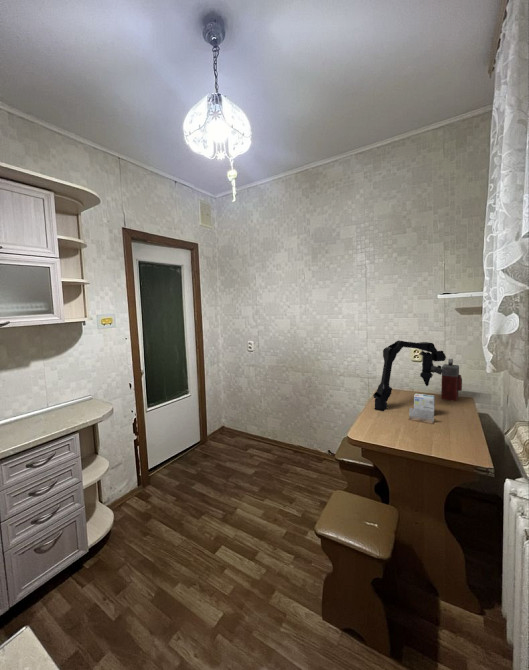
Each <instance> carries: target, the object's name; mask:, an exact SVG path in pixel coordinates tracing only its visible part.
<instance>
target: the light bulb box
mask: <svg viewBox="0 0 529 670" xmlns="http://www.w3.org/2000/svg"><path fill="white" fill-rule="evenodd" d="M435 407H436V404H435V395H432V394H423V393H421V394H420V393H414V395H413V408H415V409H421V410H428V411H434V412H435V409H436V408H435Z"/></svg>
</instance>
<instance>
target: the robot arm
mask: <svg viewBox="0 0 529 670" xmlns="http://www.w3.org/2000/svg"><path fill="white" fill-rule="evenodd" d="M403 348H408V349H409V348H410V349H417V350H421V352H420V353H418V355H419V356H422V363H421V365H422V366H421V367H422V369H421V372H420V374H419V377H420V378H421V379H422V380H423V383H424V384H425V387H429V385H430V381H431V379H432V378H433V376H434V374H438V375H441V376H442V371H443V369H442V365H437V366H436V365H434V363H433V362H445V361H446V359H447V357H446V354H445V352H444V350H438V349H437V348H436V347H435V344H434V343H433V342H429V341H427V342H426V341H420V342H412V341H405V340H400V339H399V340H397V341H395V342H394V343H391V344H390V345H389V346H386V347H384V348H383V349H382V358H383V360H384V361H383V367H382V375H381V381H380V384H379V385H378V387H377V389H376V391H375V392H374V393H373V395H372V396H373V398H374V407H373V410H374V409H375V411H380V412H385V410H387V409H388V400H389V398H390V397H391V395H392V391H393V387H391V386H390V382H391V381H390V379H391V375H392V374H391V373H392V367H393V362H394V361H395V360H396V357H397V354H398V353H401V350H402V349H403Z"/></svg>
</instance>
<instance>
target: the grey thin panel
mask: <svg viewBox="0 0 529 670" xmlns="http://www.w3.org/2000/svg"><path fill="white" fill-rule="evenodd" d="M408 409H409V411H408V413H409V418H415V419H421V420H427V421H433V422H434V423H435V410H434V411H428V410H421V409H415V408H414V407H409V408H408ZM409 418H408V419H409Z"/></svg>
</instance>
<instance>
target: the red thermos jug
mask: <svg viewBox="0 0 529 670" xmlns="http://www.w3.org/2000/svg"><path fill="white" fill-rule="evenodd" d="M447 360H448V361H447V362H448V363H445V364H443V365H441V368H442V369H443V371H442V373H441V391H440V392H441V394H440V395H441V397H440V398H441V400H446V401H447V400H448V401H452V400H453V402H458V400H459V392H462V391H463V378H462V375H461V374H460V366H459V365H458V364H454V358H448V359H447Z"/></svg>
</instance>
